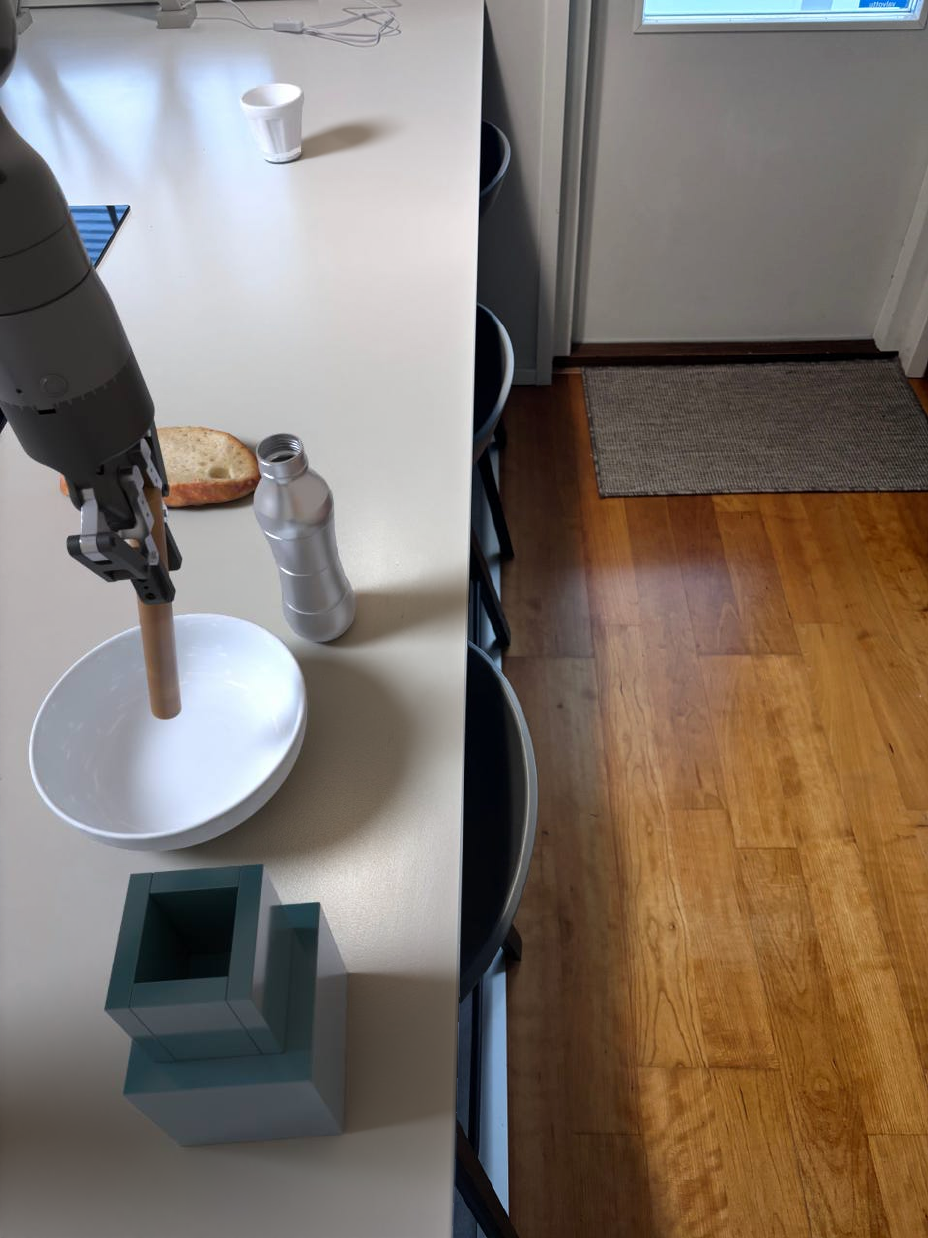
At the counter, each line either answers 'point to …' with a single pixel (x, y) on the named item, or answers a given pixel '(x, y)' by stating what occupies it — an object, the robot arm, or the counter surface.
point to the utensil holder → (229, 1008)
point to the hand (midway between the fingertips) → (163, 583)
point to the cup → (275, 118)
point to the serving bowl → (171, 736)
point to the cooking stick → (159, 629)
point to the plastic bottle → (302, 540)
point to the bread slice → (203, 466)
